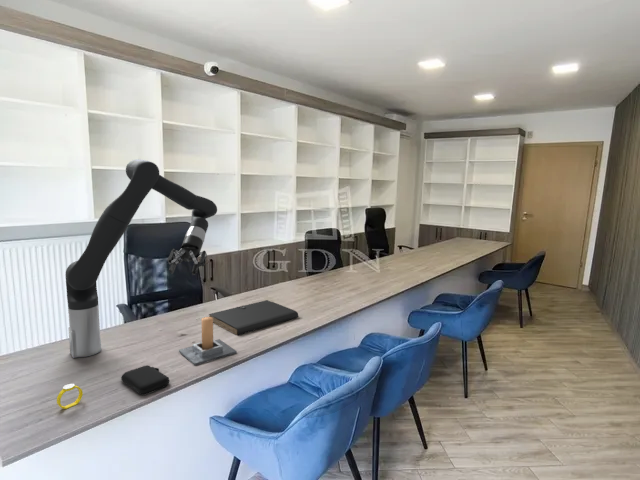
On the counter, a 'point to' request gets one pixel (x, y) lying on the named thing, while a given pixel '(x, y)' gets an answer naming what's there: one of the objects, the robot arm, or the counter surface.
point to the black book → (252, 317)
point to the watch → (68, 388)
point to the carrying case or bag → (145, 379)
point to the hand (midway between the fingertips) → (182, 273)
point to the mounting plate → (207, 352)
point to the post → (207, 333)
